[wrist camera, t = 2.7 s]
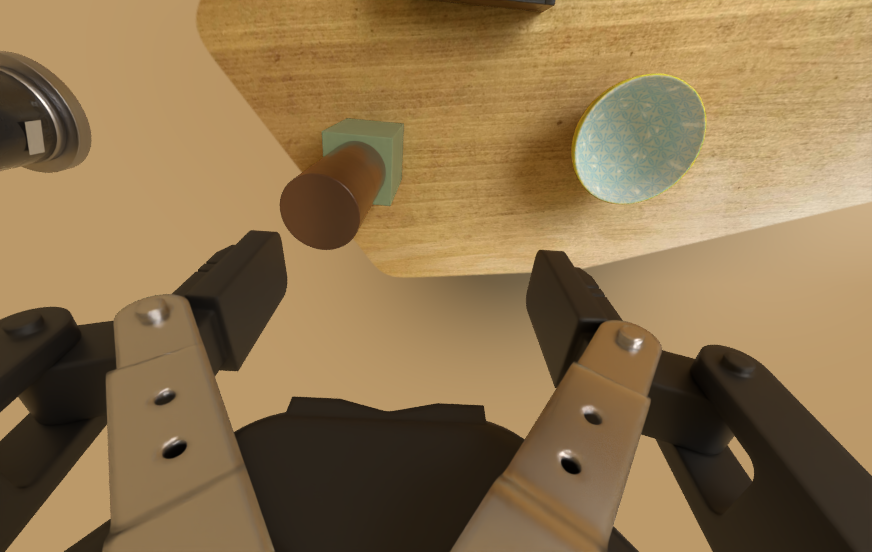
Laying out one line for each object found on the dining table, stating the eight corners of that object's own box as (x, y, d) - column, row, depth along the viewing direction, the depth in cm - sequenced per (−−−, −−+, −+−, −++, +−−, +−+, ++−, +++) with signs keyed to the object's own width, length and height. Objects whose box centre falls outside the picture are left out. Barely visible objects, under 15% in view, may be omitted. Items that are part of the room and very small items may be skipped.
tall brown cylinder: (330, 195, 34) (284, 246, 24) (327, 138, 31) (274, 169, 22) (385, 200, 34) (360, 253, 24) (386, 143, 31) (359, 177, 22)
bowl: (629, 201, 42) (655, 220, 37) (538, 167, 41) (552, 182, 35) (694, 97, 37) (736, 102, 32) (592, 53, 35) (618, 51, 30)
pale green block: (348, 175, 42) (325, 200, 34) (347, 118, 39) (321, 131, 31) (401, 180, 42) (390, 206, 34) (403, 123, 39) (392, 138, 31)
